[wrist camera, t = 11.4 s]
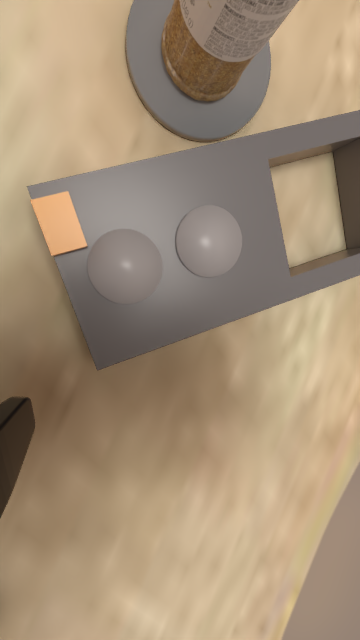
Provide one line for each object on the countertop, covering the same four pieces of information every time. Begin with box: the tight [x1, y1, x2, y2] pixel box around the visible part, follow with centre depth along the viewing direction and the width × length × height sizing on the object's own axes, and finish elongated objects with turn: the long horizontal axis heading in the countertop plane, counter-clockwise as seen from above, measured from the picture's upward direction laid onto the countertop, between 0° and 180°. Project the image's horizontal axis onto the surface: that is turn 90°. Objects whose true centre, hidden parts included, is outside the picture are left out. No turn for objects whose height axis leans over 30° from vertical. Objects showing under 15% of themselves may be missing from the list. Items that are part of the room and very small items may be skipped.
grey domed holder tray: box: [27, 110, 360, 370], centre depth 17 cm, size 20×9×3 cm, turn 106°
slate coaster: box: [126, 0, 271, 142], centre depth 16 cm, size 8×8×1 cm
